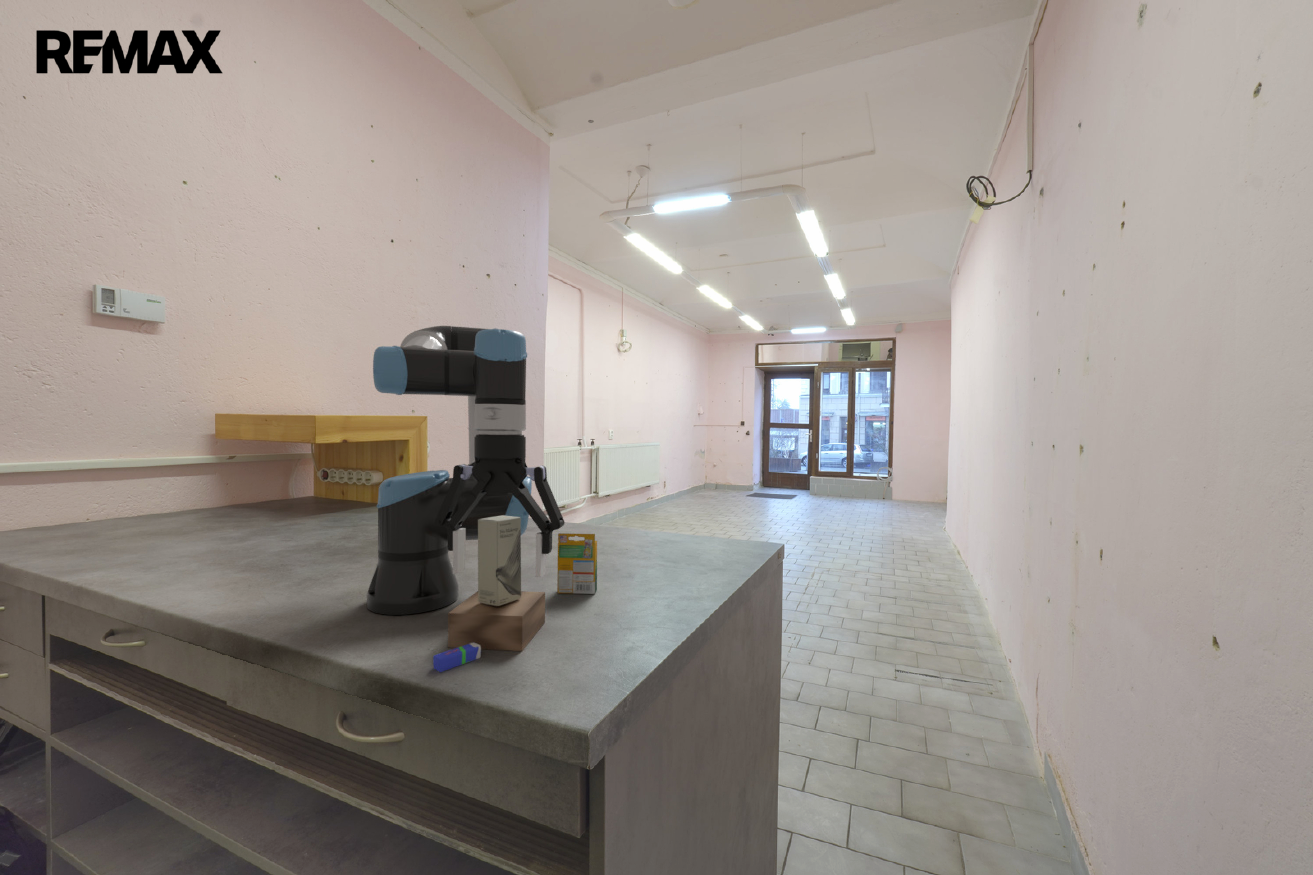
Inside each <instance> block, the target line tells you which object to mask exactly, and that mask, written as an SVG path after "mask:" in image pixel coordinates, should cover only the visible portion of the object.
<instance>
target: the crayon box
mask: <svg viewBox="0 0 1313 875" xmlns="http://www.w3.org/2000/svg"><path fill="white" fill-rule="evenodd" d="M557 537H558V538H557V587H556V588H557V589H556V591H557V594H558V595H559V594H577V595H578V594H580V595H581V594H583V595H584V594H585V595H586V594H587V595H595V594H596V592H597V590H598V540H596V533H567V532H566V533H563V532H562V533H557ZM575 537H578V538H584V540H579V539H578V540H574V539H569V538H575Z"/></svg>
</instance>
